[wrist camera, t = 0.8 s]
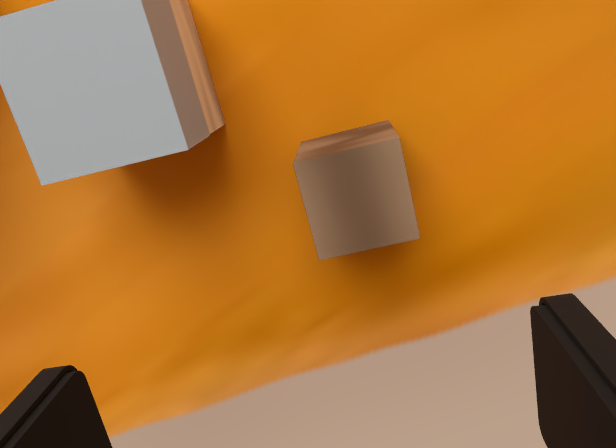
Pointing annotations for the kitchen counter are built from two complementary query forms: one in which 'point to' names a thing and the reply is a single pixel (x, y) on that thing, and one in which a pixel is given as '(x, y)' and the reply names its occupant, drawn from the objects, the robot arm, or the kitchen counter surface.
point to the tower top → (98, 85)
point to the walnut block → (356, 190)
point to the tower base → (197, 64)
